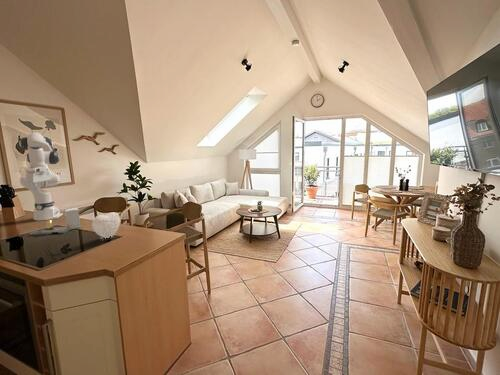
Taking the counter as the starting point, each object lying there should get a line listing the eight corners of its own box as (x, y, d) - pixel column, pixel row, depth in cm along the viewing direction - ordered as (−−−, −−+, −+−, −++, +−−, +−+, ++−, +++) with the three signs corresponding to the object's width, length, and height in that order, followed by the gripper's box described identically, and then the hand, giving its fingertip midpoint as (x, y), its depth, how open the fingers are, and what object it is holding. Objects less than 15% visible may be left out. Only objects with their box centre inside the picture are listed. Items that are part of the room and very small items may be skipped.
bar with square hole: (36, 231, 175) (35, 228, 175) (69, 230, 179) (69, 226, 178) (29, 235, 168) (28, 231, 168) (64, 233, 172) (63, 229, 171)
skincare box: (80, 226, 189) (78, 207, 187) (80, 228, 184) (79, 209, 182) (66, 228, 184) (64, 209, 182) (67, 230, 179) (65, 210, 177)
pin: (49, 232, 175) (47, 220, 174) (54, 231, 175) (52, 219, 174) (46, 233, 172) (44, 221, 171) (51, 233, 172) (49, 221, 171)
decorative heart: (114, 233, 172) (112, 210, 170) (125, 235, 168) (123, 211, 166) (89, 242, 156) (87, 216, 154) (100, 244, 152) (98, 218, 149)
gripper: (43, 168, 187) (45, 185, 189) (23, 170, 167) (25, 189, 169) (52, 168, 188) (54, 185, 190) (33, 170, 168) (35, 189, 170)
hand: (40, 187), depth 179 cm, fingers open, 8 cm apart
